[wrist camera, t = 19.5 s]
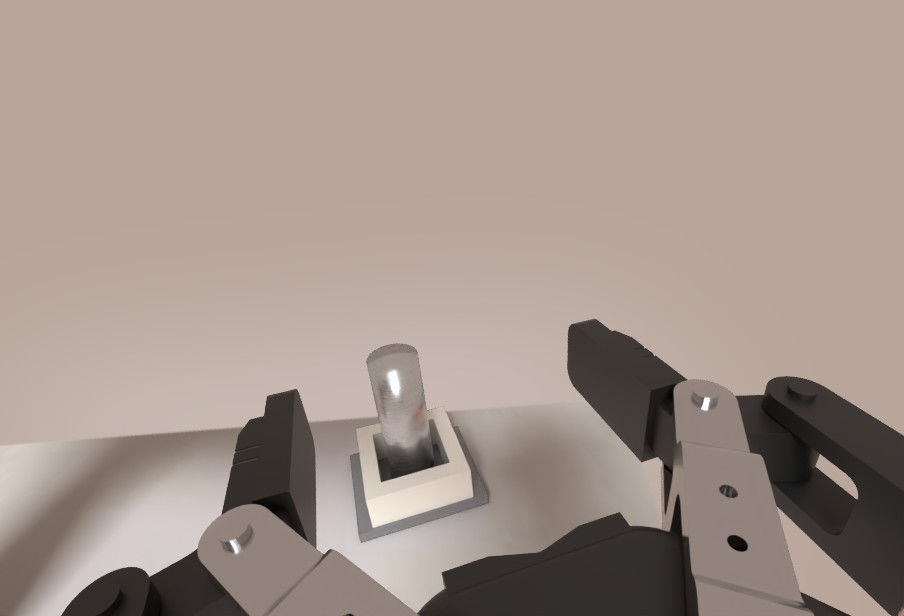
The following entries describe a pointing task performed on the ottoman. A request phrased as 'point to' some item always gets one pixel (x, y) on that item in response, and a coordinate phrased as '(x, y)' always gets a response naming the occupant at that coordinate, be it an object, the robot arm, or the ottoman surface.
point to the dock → (413, 481)
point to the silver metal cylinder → (401, 408)
